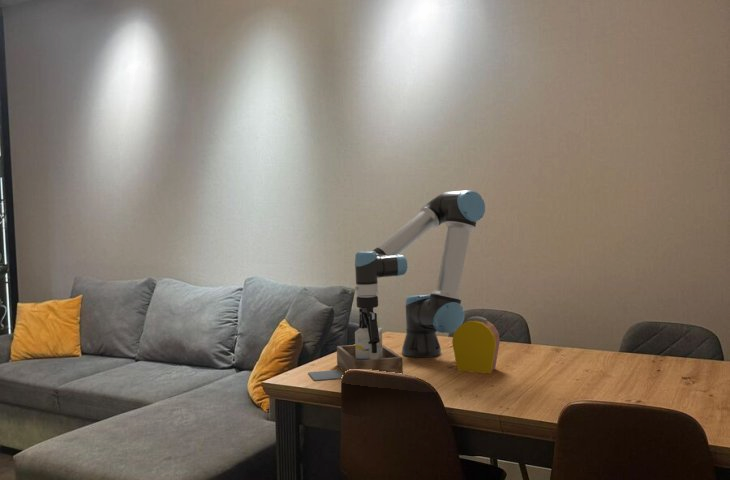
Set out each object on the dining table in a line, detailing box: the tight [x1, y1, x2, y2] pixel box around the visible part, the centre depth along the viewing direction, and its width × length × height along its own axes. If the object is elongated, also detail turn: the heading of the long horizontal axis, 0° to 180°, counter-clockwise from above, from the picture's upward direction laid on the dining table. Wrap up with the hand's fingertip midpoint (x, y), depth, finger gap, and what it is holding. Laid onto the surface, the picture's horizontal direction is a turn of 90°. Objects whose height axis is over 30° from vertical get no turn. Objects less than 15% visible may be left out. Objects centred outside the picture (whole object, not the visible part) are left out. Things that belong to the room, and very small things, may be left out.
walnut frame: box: [336, 344, 404, 375], centre depth 225 cm, size 16×26×7 cm, turn 15°
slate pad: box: [307, 369, 344, 382], centre depth 220 cm, size 11×11×1 cm
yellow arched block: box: [451, 315, 501, 374], centre depth 225 cm, size 15×8×18 cm, turn 65°
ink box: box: [354, 327, 383, 361], centre depth 225 cm, size 9×8×12 cm
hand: (369, 358), depth 225 cm, fingers closed on ink box, 11 cm apart
